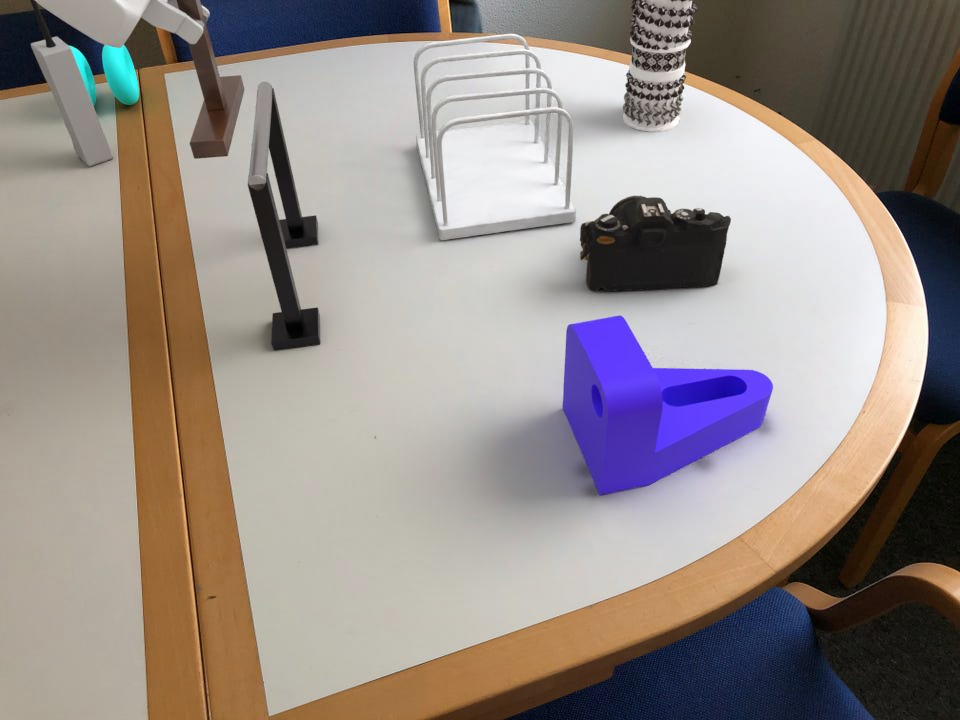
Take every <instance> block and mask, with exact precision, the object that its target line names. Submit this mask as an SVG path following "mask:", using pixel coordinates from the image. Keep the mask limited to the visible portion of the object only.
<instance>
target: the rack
mask: <svg viewBox="0 0 960 720" xmlns="http://www.w3.org/2000/svg"><path fill="white" fill-rule="evenodd" d="M254 111H255V112H254V122H253V132H252V140H251V149H250V150H251V151H250V158H249V160H250V161H249V171H248V177H247V189H248V192H249V196H250V199H251V204H252V206H253V207H252V208H253V210H254V214H255V218H256V222H257V225H258V229H259V234H260V236H261V237H260V238H261V240H262V244H263V247H264V252H265V255H266V259H267V263H268V266H269V270H270V274H271V278H272V281H273V285H274V289H275V293H276V296H277V300H278V304H279V308H280V311H279V312H273V313H272V314H271V315H272V316H271V317H272V318H271V335H270V336H271V338H270V344H271V347H272V350H273V351H280V350H289V349H295V348H302V347H311V346H317V345H321V316H320V310H319V307H309V308H302V307H301V303H300V299H299V294H298V290H297V287H296V282H295V279H294V275H293V270H292V266H291V263H290V262H291V261H290V258H289V255H288V249H292V248H300V247H309V246H317V245H319V222H318V218H317V215H307V216H303V214H302V210H301V205H300V201H299V196H298V192H297V187H296V182H295V179H294V174H293V168H292V166H291V161H290V156H289V150H288V147H287V143H286V138H285V133H284V129H283V124H282V120H281V115H280V111H279V107H278V102H277V97H276V93H275V89H274V88H273V86H272V84H271V83H270V82H268V81H262V82H259V84H258V85H257V90H256V103H255V110H254ZM269 155H270V157H271V162H272V167H273V172H274V176H275V179H276V184H277V187H278V193H279V196H280V200H281V205H282V208H283V213H284V217H285V218H283V219H280V217H279V214H278V210H277V206H276V202H275V197H274V193H273V188H272V184H271V181H270V177H269V174H268V164H269Z"/></svg>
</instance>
